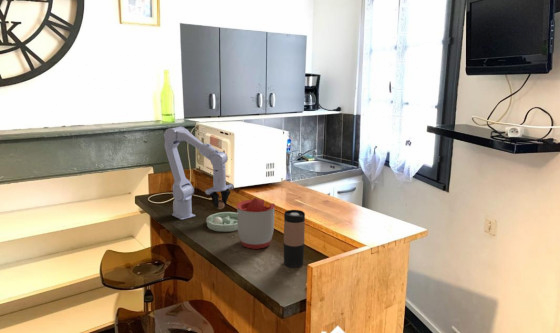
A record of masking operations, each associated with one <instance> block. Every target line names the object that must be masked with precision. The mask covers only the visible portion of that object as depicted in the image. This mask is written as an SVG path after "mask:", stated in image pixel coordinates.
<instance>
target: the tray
mask: <svg viewBox="0 0 560 333" xmlns="http://www.w3.org/2000/svg"><path fill="white" fill-rule="evenodd" d="M216 217H220V218H221V219H222V224H215V223H214V219H215V218H216ZM206 227H207V228H208V229H209V230H211V231H214V232H222V233H227V232H228V233H229V232H235V231H238V217H237V212H234V211H222V212H216V213H213V214H210V215H209V216H207V217H206Z"/></svg>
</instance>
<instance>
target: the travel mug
mask: <svg viewBox="0 0 560 333" xmlns="http://www.w3.org/2000/svg"><path fill="white" fill-rule="evenodd" d="M283 218H284V219H283V264H284V266H285V267H287V268H290V269H298V268H300V267H302V266H303V265H304V254H305V252H304V251H305V233H306V232H305V226H306V224H305V223H306V221H305V220H306V213H305V212H304V211H303V210H299V209H287V210H285V211H284V216H283Z"/></svg>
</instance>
